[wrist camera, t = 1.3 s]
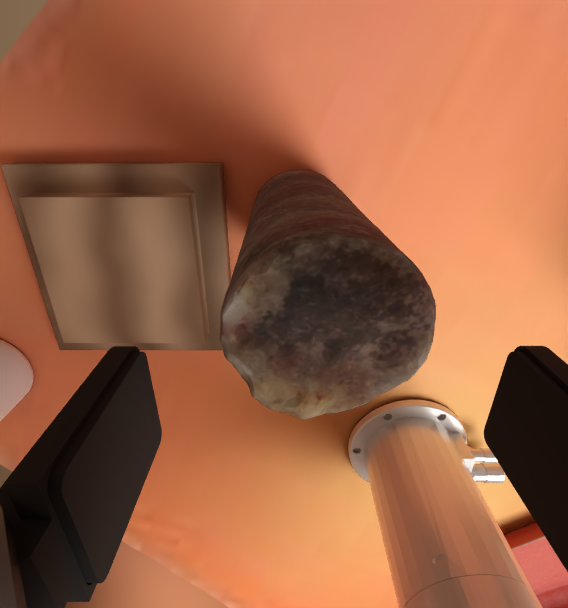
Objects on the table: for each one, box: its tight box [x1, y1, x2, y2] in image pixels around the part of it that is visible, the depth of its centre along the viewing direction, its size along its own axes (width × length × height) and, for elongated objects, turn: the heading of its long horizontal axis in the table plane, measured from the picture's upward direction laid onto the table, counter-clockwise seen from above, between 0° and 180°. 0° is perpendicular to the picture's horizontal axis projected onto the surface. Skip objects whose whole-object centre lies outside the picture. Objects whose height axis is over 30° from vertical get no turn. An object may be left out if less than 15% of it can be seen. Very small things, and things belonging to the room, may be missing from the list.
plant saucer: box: [504, 522, 568, 608], centre depth 49 cm, size 18×18×3 cm
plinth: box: [0, 163, 231, 350], centre depth 30 cm, size 16×16×4 cm
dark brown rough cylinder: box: [220, 169, 436, 419], centre depth 20 cm, size 8×7×20 cm
